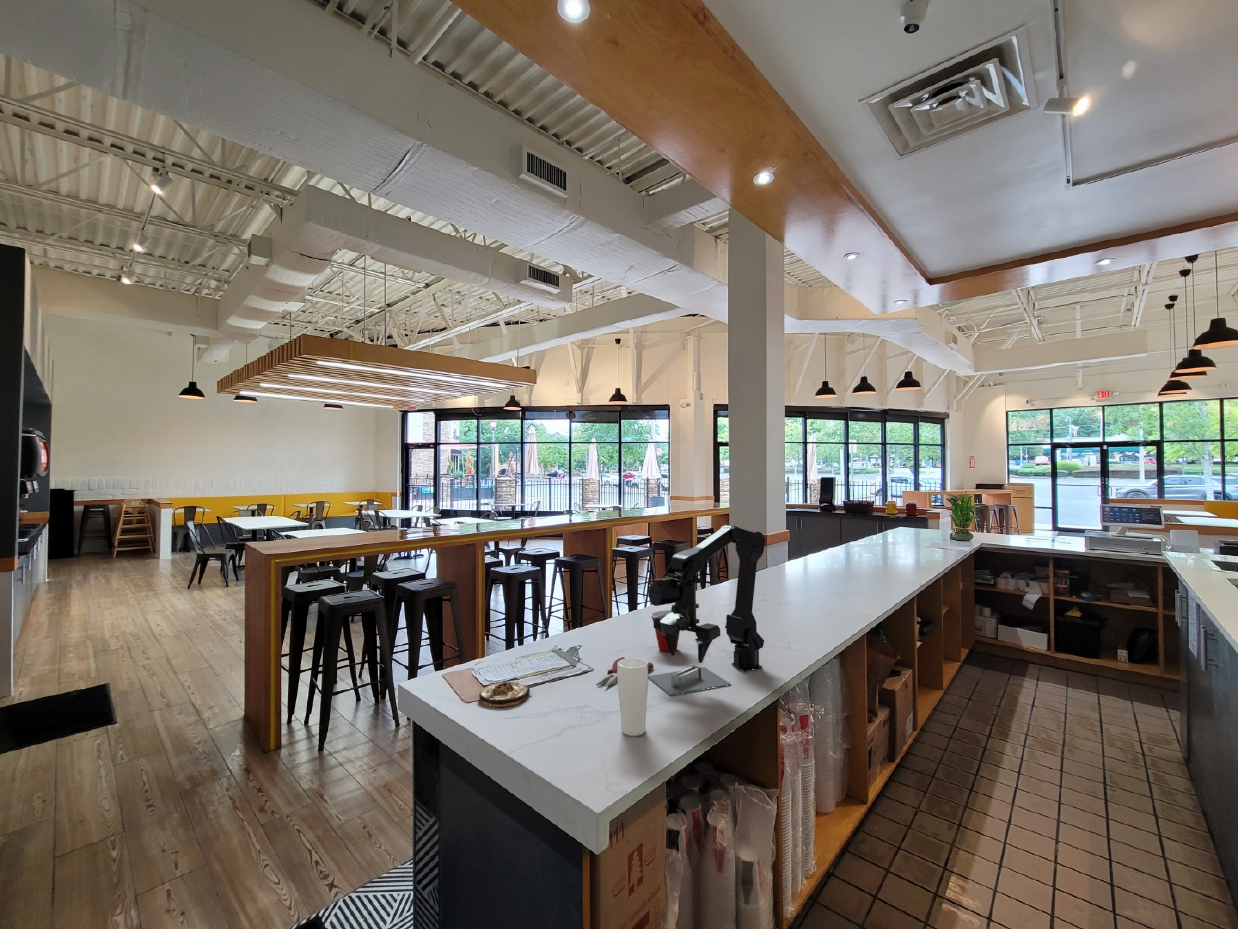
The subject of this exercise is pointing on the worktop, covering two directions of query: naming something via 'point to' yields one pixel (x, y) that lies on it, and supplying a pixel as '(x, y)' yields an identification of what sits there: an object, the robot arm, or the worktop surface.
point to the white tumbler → (633, 694)
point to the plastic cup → (660, 638)
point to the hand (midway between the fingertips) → (686, 658)
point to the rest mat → (704, 682)
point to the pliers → (612, 674)
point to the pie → (504, 694)
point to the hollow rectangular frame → (685, 677)
